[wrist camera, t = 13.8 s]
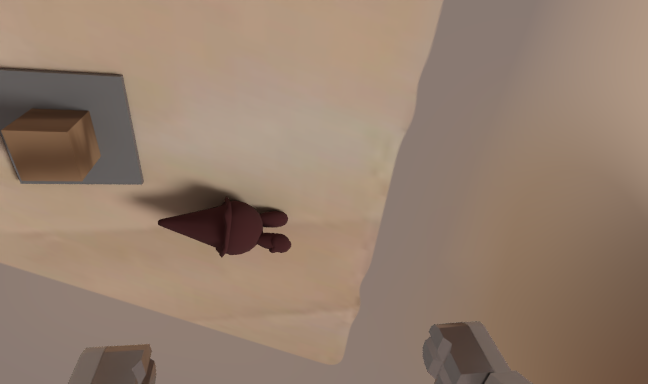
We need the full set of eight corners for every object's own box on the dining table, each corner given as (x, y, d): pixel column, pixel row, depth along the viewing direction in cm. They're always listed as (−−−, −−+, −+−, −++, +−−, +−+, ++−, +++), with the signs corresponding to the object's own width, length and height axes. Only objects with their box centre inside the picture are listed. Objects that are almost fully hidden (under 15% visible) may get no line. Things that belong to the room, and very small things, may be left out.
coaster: (-23, 66, 33) (-27, 68, 32) (122, 74, 35) (120, 76, 34) (23, 180, 39) (20, 183, 39) (143, 181, 41) (142, 184, 41)
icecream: (153, 267, 40) (284, 271, 45) (153, 228, 35) (301, 238, 40) (161, 217, 45) (280, 226, 50) (162, 176, 40) (294, 191, 45)
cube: (31, 108, 35) (0, 130, 31) (89, 110, 36) (67, 132, 31) (47, 155, 37) (21, 180, 33) (101, 156, 38) (82, 181, 34)
